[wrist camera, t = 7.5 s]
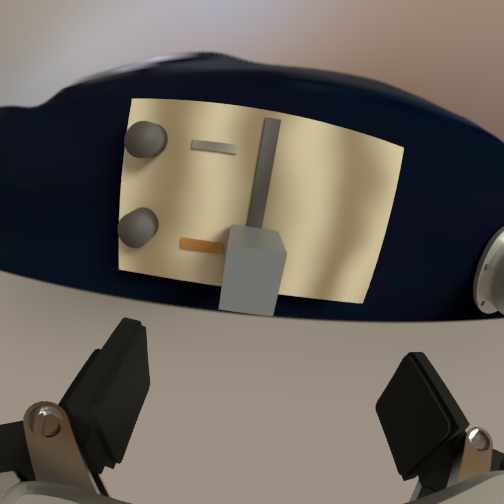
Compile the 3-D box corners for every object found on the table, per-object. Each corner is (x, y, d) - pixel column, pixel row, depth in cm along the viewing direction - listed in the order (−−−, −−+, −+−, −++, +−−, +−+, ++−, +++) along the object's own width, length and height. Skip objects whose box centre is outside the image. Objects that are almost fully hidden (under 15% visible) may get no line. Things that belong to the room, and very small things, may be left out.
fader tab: (278, 231, 19) (287, 253, 15) (267, 283, 20) (272, 316, 16) (231, 224, 19) (227, 244, 15) (223, 277, 20) (218, 309, 16)
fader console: (380, 147, 21) (418, 148, 16) (347, 282, 26) (371, 315, 20) (150, 106, 20) (121, 93, 14) (136, 252, 24) (108, 279, 18)
